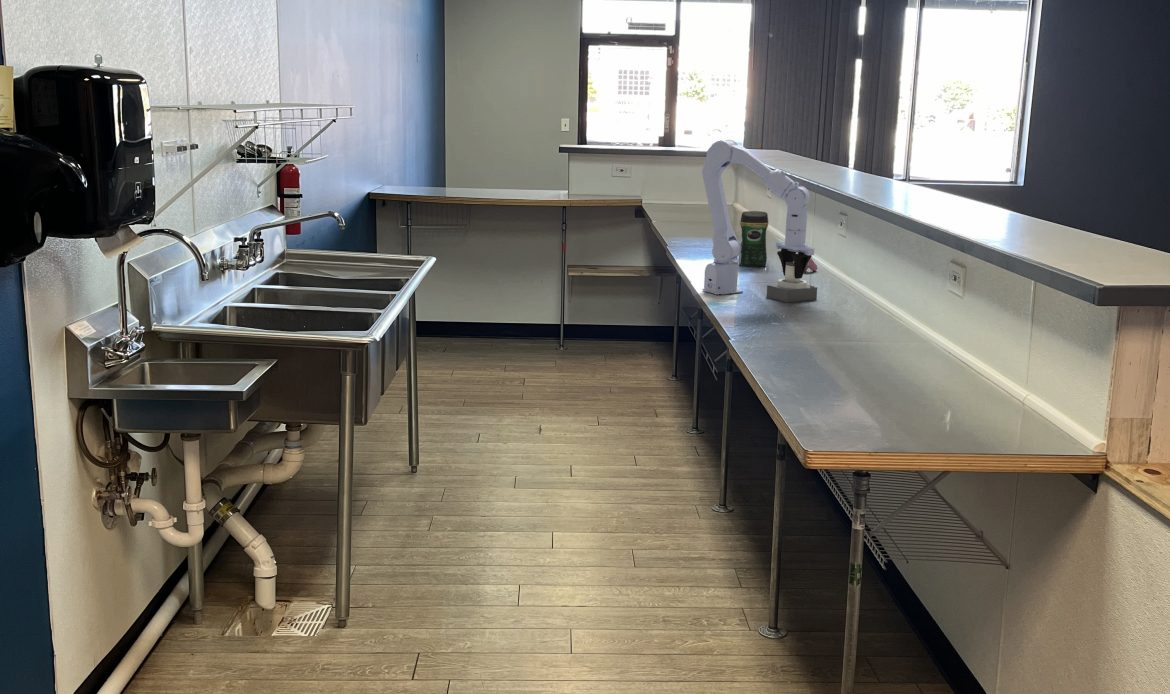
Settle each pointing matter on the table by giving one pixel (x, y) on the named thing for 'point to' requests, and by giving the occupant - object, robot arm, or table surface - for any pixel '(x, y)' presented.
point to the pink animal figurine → (811, 265)
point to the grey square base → (791, 291)
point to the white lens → (790, 273)
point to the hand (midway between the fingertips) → (792, 276)
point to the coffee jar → (753, 238)
